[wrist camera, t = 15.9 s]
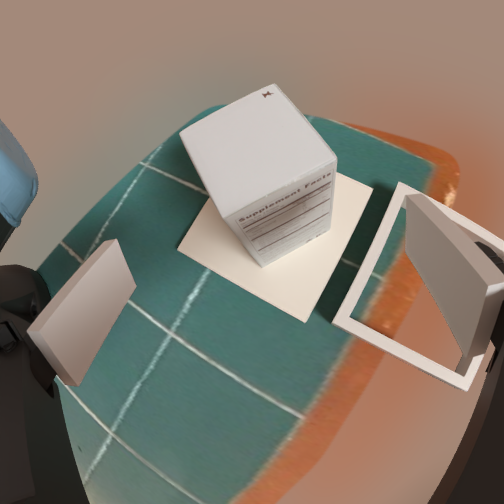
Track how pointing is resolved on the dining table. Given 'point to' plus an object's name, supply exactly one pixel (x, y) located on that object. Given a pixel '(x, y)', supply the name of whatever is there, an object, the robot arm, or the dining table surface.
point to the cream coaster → (287, 267)
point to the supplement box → (265, 172)
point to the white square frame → (342, 320)
